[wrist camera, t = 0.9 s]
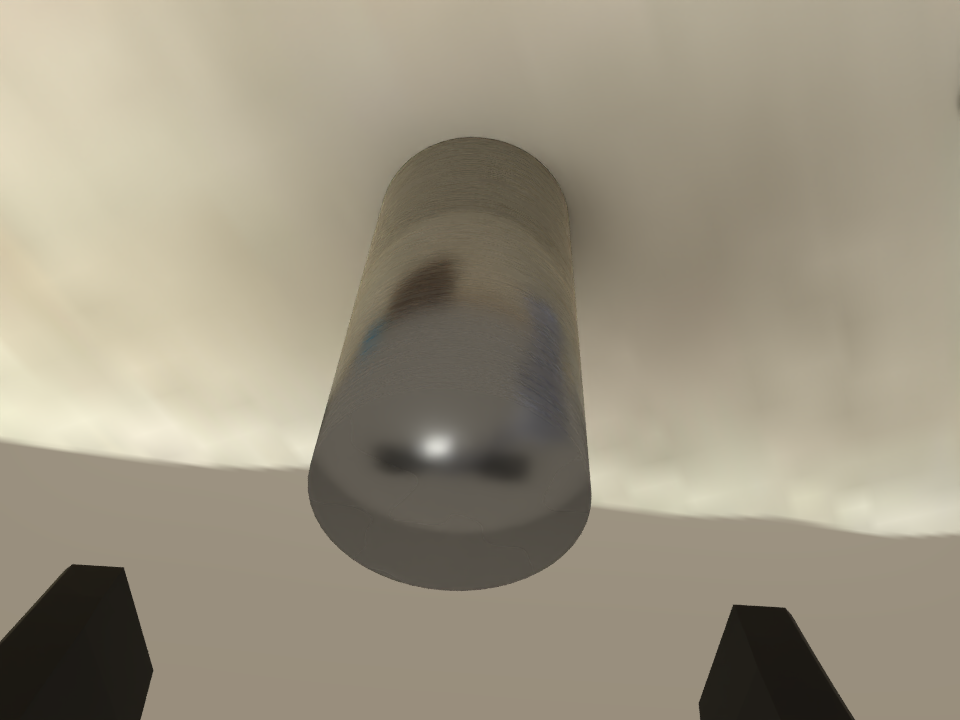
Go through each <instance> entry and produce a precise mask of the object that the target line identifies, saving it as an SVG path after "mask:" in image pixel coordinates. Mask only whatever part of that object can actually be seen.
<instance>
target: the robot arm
mask: <svg viewBox="0 0 960 720" xmlns="http://www.w3.org/2000/svg"><path fill="white" fill-rule="evenodd" d="M152 673H153V668H152V664H151V661H150V657H149V654H148V650H147V647H146V643H145V640H144V636H143V633H142V629H141V626H140V622H139V619H138V615H137V612H136V608H135V605H134V601H133V598H132V595H131V591H130V588H129V584H128V581H127V577H126V574H125V571H124V568H123V567H107V566H91V565H75V564H73V565H71V566H70V567H68V568H67V569H66V570H65V571H64V572H63V573H62V574H61V575H60V576H59V577H58V578H57V580H56V581H55V582H54V583H53V584H52V585H51V586H50V587H49V589H47V591H46V592H45V593H44V594H43V595H42V596H41V597H40V598H39V599H38V601H37V602H36V603H35V604H34V605H33V606H32V607H31V608H30V609H29V611H28V612H27V613H26V614H25V615H24V616H23V617H22V618H21V619H20V620H19V622H18V623H17V624H16V625H15V626H14V627H13V628H12V629H11V630H10V631H9V633H8V634H7V635H6V636H5V637H4V638H3V639H2V640H1V642H0V720H140V719H141V716H142V712H143V708H144V704H145V700H146V696H147V692H148V689H149V685H150V680H151V677H152ZM699 711H700V720H855V719H854V718H853V716H852V714H851V713H850V711H849V710H848V708H847V707H846V705H845V703H844V702H843V700H842V698H841V697H840V695H839V694H838V692H837V690H836V689H835V687H834V686H833V684H832V682H831V681H830V679H829V677H828V676H827V674H826V672H825V671H824V669H823V668H822V666H821V664H820V662H819V661H818V659H817V658H816V656H815V654H814V652H813V651H812V649H811V647H810V646H809V644H808V642H807V641H806V639H805V637H804V636H803V634H802V632H801V631H800V629H799V627H798V625H797V624H796V622H795V620H794V618H793V617H792V615H791V614H790V613H789V612H788V611H787V610H786V608H779V607H763V606H747V605H733V607H732V610H731V613H730V616H729V618H728V621H727V624H726V627H725V630H724V633H723V636H722V638H721V641H720V644H719V647H718V650H717V653H716V656H715V659H714V662H713V664H712V667H711V670H710V673H709V676H708V679H707V681H706V684H705V687H704V690H703V693H702V696H701V699H700V701H699Z"/></svg>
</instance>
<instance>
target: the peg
mask: <svg viewBox="0 0 960 720" xmlns="http://www.w3.org/2000/svg"><path fill="white" fill-rule="evenodd" d="M308 493H309V499H310V504H311V507H312V509H313V512H314V514H315V517H316V519H317V521H318V522H319V524H320V526H321V528H322V529H323V530H324V532H325V533H326V534H327V536H328V537H329V538H330V540H331V541H332V542H334V544H335V545H337V547H338V548H339V549H340V550H342V551H343V552H344V553H345V554H347V555H348V556H349V557H350V558H352V559H353V560H355V561H356V562H358V563H359V564H361V565H362V566H364V567H366V568H368V569H370V570H372V571H374V572H376V573H378V574H380V575H382V576H385V577H387V578H390V579H392V580H395V581H398V582H402V583H406V584H409V585H412V586H418V587H423V588H428V589H438V590H450V591H466V590H481V589H487V588H494V587H499V586H503V585H507V584H511V583H514V582H517V581H519V580H522V579H525V578H528V577H529V576H532V575H534V574H536V573H538V572H540V571H542V570H543V569H545V568H547V567H548V566H550V565H551V564H553V563H554V562H556V561H557V560H558V559H559V558H561V557H562V556H563V555H564V554H565V553H566V552H567V551H568V550H569V549H570V548H571V547H572V546H573V544H574V543H575V542H576V540H577V539H578V537H579V536H580V534H581V533H582V531H583V529H584V527H585V525H586V522H587V519H588V516H589V512H590V507H591V484H590V472H589V459H588V447H587V435H586V423H585V411H584V398H583V386H582V374H581V362H580V349H579V337H578V325H577V313H576V300H575V288H574V276H573V264H572V251H571V239H570V227H569V216H568V209H567V205H566V201H565V198H564V195H563V193H562V191H561V188H560V187H559V185H558V183H557V182H556V180H555V178H554V177H553V176H552V175H551V173H550V172H549V171H548V170H547V169H546V168H545V167H544V166H543V165H542V164H541V163H540V162H539V161H538V160H537V159H535V158H534V157H532V156H531V155H530V154H528V153H527V152H525V151H523V150H521V149H519V148H517V147H515V146H513V145H510V144H507V143H505V142H501V141H497V140H493V139H486V138H460V139H452V140H449V141H445V142H441V143H438V144H436V145H433V146H431V147H428V148H427V149H425V150H423V151H421V152H419V153H418V154H417V155H415V156H414V157H413V158H411V159H410V160H409V161H408V162H407V163H406V164H405V165H404V166H403V167H402V168H401V169H400V170H399V171H398V172H397V174H396V175H395V176H394V178H393V179H392V181H391V183H390V185H389V187H388V189H387V191H386V194H385V197H384V200H383V203H382V207H381V211H380V214H379V218H378V222H377V225H376V229H375V232H374V236H373V240H372V243H371V247H370V251H369V254H368V258H367V261H366V265H365V269H364V272H363V276H362V280H361V283H360V287H359V290H358V294H357V298H356V301H355V305H354V309H353V312H352V316H351V319H350V323H349V327H348V330H347V334H346V337H345V341H344V345H343V348H342V352H341V356H340V359H339V363H338V366H337V370H336V374H335V377H334V381H333V385H332V388H331V392H330V395H329V399H328V403H327V406H326V410H325V414H324V417H323V421H322V424H321V428H320V432H319V435H318V439H317V443H316V446H315V450H314V453H313V457H312V461H311V464H310V470H309V475H308Z"/></svg>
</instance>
